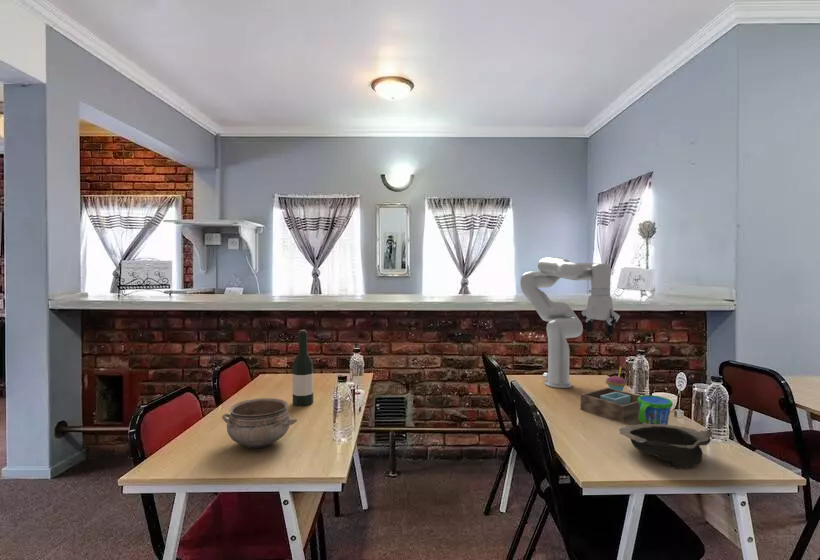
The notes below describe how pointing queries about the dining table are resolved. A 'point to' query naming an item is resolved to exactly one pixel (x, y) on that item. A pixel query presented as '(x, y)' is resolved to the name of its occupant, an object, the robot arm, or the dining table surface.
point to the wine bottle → (302, 374)
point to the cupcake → (616, 382)
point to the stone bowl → (669, 442)
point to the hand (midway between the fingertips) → (599, 332)
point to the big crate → (610, 405)
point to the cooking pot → (258, 422)
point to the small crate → (616, 398)
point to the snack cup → (654, 409)
